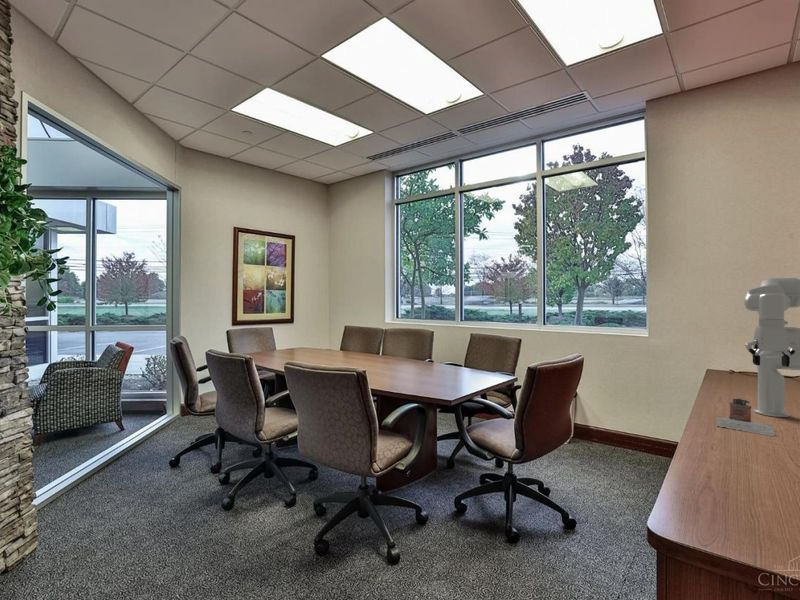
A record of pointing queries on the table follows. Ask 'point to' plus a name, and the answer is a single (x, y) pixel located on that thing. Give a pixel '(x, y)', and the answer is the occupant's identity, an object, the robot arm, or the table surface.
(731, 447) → the table surface
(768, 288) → the robot arm
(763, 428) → the track
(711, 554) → the table surface
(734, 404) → the lighter
